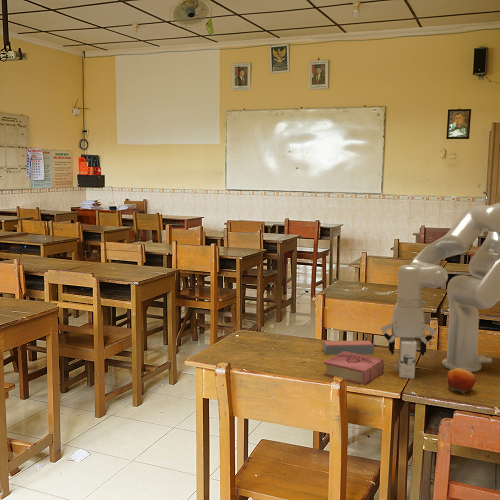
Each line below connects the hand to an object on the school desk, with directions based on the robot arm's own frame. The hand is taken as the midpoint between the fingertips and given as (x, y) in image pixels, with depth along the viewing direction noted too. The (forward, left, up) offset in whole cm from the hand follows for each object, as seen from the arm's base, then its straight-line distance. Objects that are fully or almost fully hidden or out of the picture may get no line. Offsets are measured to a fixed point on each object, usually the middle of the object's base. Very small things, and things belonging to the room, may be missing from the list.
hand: (407, 353), depth 177 cm
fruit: (-14, +13, -7) cm, 20 cm away
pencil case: (+18, -22, -7) cm, 29 cm away
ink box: (0, 0, -7) cm, 7 cm away
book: (+17, +2, -7) cm, 19 cm away
